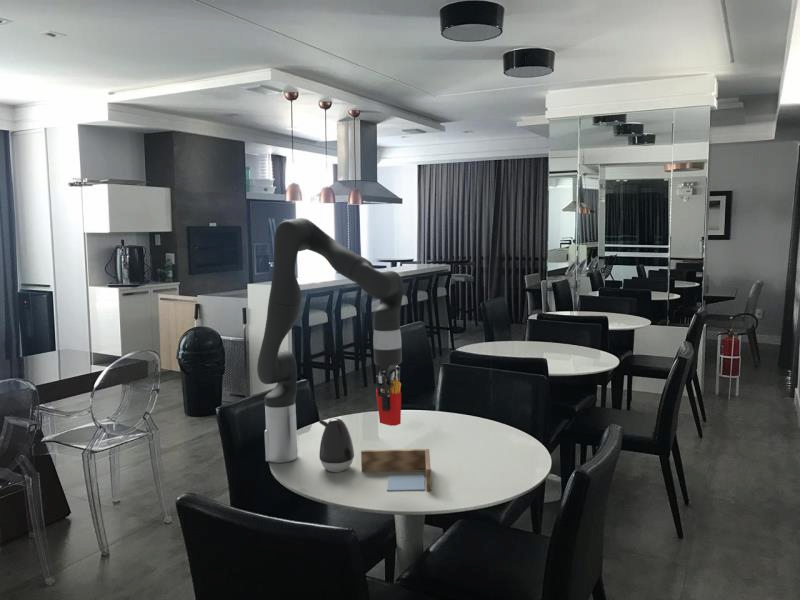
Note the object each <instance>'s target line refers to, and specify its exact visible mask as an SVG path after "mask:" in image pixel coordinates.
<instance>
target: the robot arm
mask: <svg viewBox="0 0 800 600" xmlns="http://www.w3.org/2000/svg"><path fill="white" fill-rule="evenodd" d="M273 244H274V245H273V265H272V266H273V268H272V274H271V275H272V276H271V285H270V286H271V287H270V292H269V297H268V305H267V314H266V322H265V328H264V332H263V333H264V334H263V338H262V342H261V346H260V350H259V355H258V359H257V363H256V364H257V367H256V369H257V370H256V371H257V377H258V379H259V381H260V382H261V383H263V385H273V384H276V385H275V386H274V388H273V389H272V390H271V391H269V392H268V393H267V394H266V395H265V396H264V409H265V413H264V414H265V415H264V416H265V430H264V450H265V453H264V454H265V462H271V463H276V464H278V463H280V464H281V463H289V462H292V461H294V460H297V459H298V456H299V455H298V452H299V451H298V450H299V449H298V436H297V435H298V434H297V433H298V432H297V431H298V430H297V413H296V411H297V408H296V397H297V394H298V393H297V392H298V389H297V388H298V387H297V386H298V381H297V380H298V368H297V362H296V358H295V355H294V354H293V353H292V352H291V351H290V350H282V351H280V348H281V345H282V343H283V341H284V340H285V338H286V336H287V335H288V334H289V333H290V331H291V330H292V329H293V327H294V325H295V323H296V322H297V320H298V318H299V314H300V309H301V303H302V290H301V288H300V284H299V282H298V279H297V277H296V264H297V263H296V262H297V256H298V253H299V252H302V251H306V250H308V251H310V252H313V253H316V254H318V255H320V256H321V257H323V258H325V259H326V261H327V262H328V263H329V264H330V266H331V267H332V269H334V270H335V271H336V272H337V273H339V275H342V276H343V277H345V278H347V279H348V280H350V281H352V282H353V283H355V284H357V285H358V287H360V288H361V290H363V291H364V292H365V293H366V294H367V295H369V296H370V297H372V298H375V299H378V300H379V304H378V307H376V308H375V309H374V310H373V311H374V312H373V336H372V337H373V339H372V340H373V341H372V342H373V344H372V345H373V363H374V364H375V365H376V366H377V365H378V366H380V368H379V371H378V372H379V373H378V375H376V376H375V382H376V389H377V392H378V396H380V397H382V410H383V411H390V392H391V389H392V387H393V379H394V380H395V379H397V381H401V380H400V379H401V366H398V365H400V364H402V362H403V353H402V351H403V350H402V334H401V321H400V318H401V317H400V313H401V312H400V311H401V307H402V302H403V296H404V282H403V278H402V277H401V275H400V274H399V273H397V272H396V271H393V270H388V271H379V270H377V269H376V268H375V267H374V265H373V264H372V262H371V261H370V260H368V259H367V258H365V257H363V256H361V255H359V254H358V253H355V252H354V251H352V250H350V249H348V248H347V247H345V246H344V245H342V244H341V243H340V242H338V241H336V240H335V239H334V238H333V237H332V236H330V235H328V234H327V233H326V232H325V231H324V230H323V229H321V228H320V227H318V225H316V224H315V223H314V222H312V221H311V220H309V219H307V218H305V217H304V218H303V217H297V218H291V219H286V220H285V219H284V220H283V221H281V222H279V223H278V225H277V227H276V228H275V233H274V240H273ZM387 384H389V385H387Z"/></svg>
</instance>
